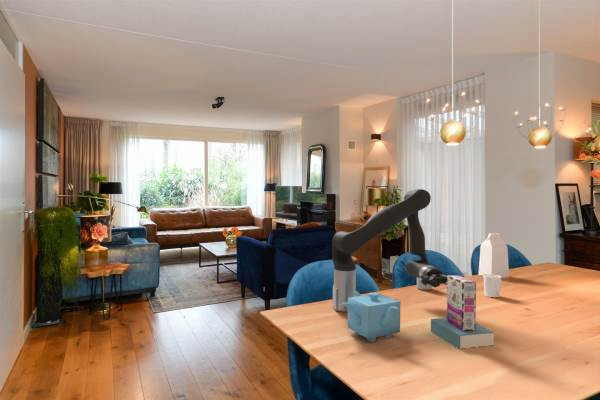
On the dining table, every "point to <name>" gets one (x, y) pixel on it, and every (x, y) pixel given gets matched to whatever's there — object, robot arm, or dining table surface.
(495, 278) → the white cup
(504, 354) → the dining table surface
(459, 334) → the teal rectangular box
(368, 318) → the teakettle
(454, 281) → the candy bar box
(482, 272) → the milk
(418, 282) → the can
